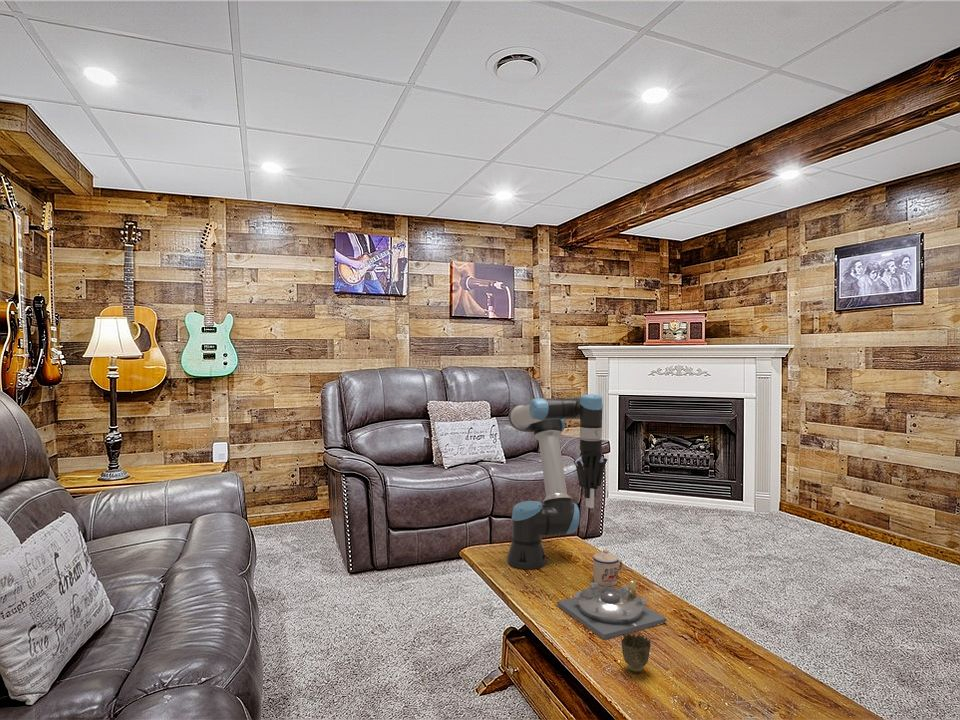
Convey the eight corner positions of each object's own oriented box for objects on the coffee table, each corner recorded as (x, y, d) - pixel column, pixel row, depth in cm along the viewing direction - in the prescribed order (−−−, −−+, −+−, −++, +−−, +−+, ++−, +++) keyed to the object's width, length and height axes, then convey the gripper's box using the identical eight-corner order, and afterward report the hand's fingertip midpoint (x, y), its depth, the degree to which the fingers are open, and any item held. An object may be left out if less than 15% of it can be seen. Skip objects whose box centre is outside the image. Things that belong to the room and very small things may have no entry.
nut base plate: (557, 605, 185) (557, 600, 185) (615, 592, 195) (615, 587, 195) (603, 639, 163) (604, 634, 163) (666, 623, 174) (666, 617, 174)
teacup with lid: (602, 588, 199) (603, 555, 199) (587, 578, 207) (588, 547, 207) (630, 583, 204) (630, 551, 203) (614, 574, 212) (614, 543, 212)
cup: (628, 659, 153) (628, 630, 153) (654, 669, 148) (655, 639, 148) (615, 671, 147) (616, 640, 147) (642, 682, 143) (643, 650, 142)
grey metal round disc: (599, 629, 166) (599, 602, 165) (565, 597, 187) (565, 573, 187) (658, 620, 172) (659, 594, 172) (619, 590, 193) (619, 567, 193)
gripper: (582, 442, 189) (581, 512, 190) (612, 439, 195) (611, 507, 196) (569, 438, 196) (568, 506, 197) (599, 436, 202) (598, 502, 202)
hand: (589, 507), depth 196 cm, fingers closed
